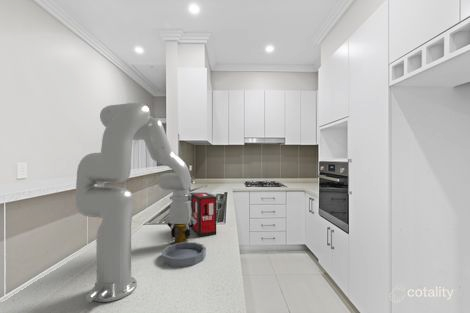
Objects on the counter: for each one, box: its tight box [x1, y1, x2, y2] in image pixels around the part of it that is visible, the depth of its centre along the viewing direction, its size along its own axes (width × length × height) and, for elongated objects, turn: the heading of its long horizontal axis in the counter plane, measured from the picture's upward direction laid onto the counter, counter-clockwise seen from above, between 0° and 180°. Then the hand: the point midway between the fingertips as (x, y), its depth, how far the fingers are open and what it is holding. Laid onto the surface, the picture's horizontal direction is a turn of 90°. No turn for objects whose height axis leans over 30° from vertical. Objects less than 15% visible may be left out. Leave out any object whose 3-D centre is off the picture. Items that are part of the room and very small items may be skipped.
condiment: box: [168, 224, 189, 246], centre depth 109 cm, size 7×8×12 cm
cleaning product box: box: [190, 192, 217, 238], centre depth 128 cm, size 16×9×20 cm, turn 27°
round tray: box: [161, 241, 207, 268], centre depth 95 cm, size 17×17×3 cm
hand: (180, 236), depth 109 cm, fingers closed on condiment, 6 cm apart
